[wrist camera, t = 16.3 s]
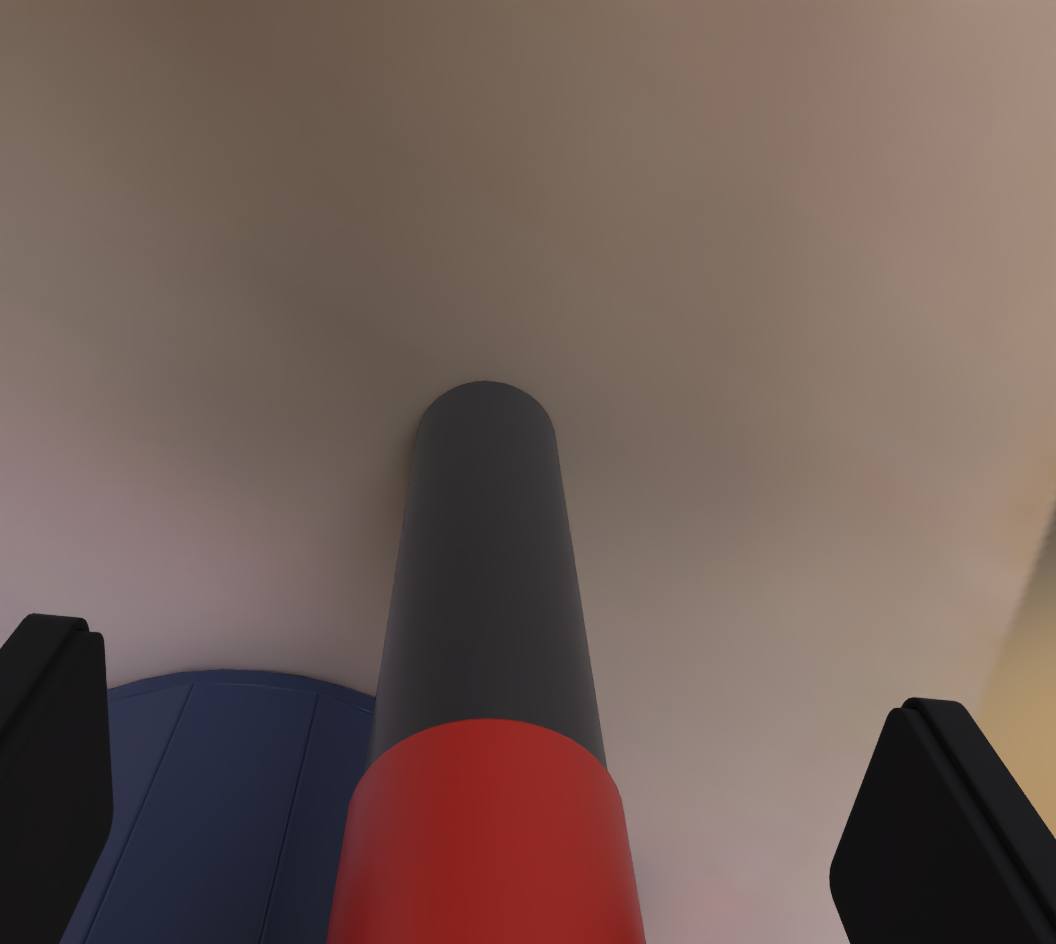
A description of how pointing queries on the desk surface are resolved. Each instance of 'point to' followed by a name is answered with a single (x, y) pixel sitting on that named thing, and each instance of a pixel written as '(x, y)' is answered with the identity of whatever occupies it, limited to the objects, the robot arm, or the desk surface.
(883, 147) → the desk surface
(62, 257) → the desk surface
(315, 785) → the pot
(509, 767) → the marker
